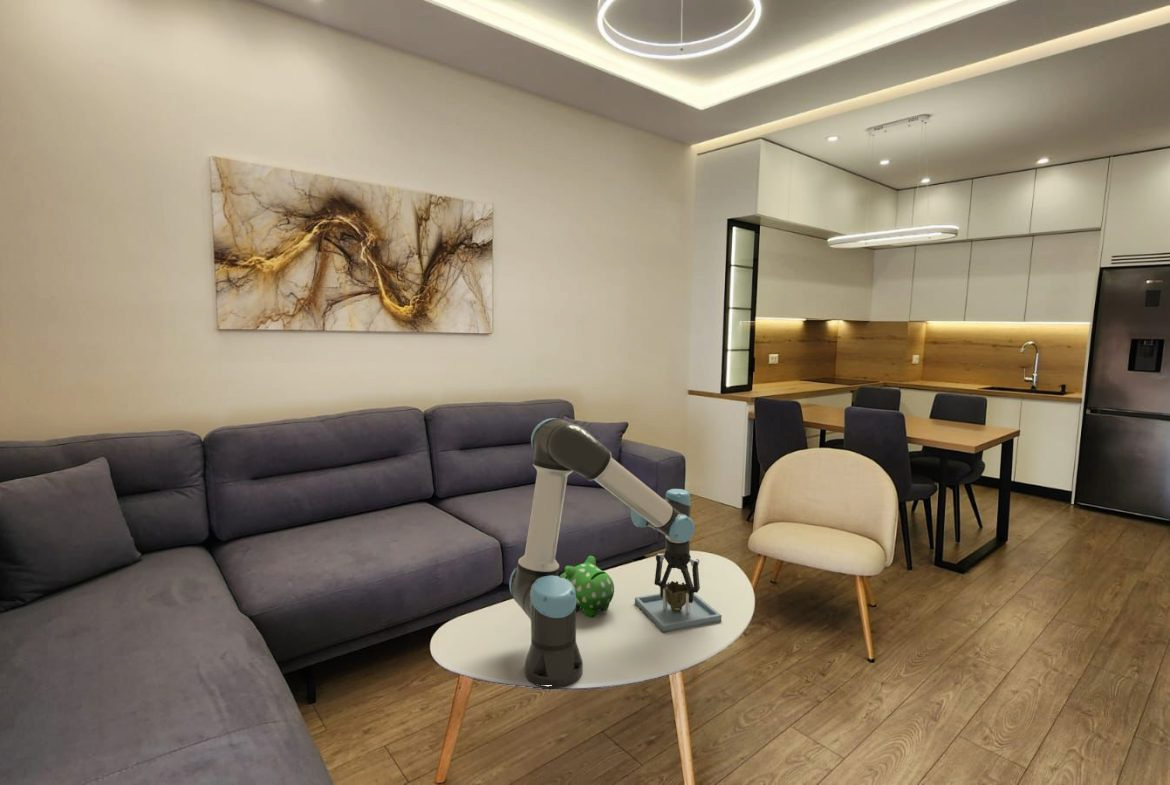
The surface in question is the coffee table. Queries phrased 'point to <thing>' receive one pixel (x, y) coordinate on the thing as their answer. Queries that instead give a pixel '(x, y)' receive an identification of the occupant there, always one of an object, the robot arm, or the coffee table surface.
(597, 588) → the piggy bank
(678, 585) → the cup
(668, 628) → the tray
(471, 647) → the coffee table surface
